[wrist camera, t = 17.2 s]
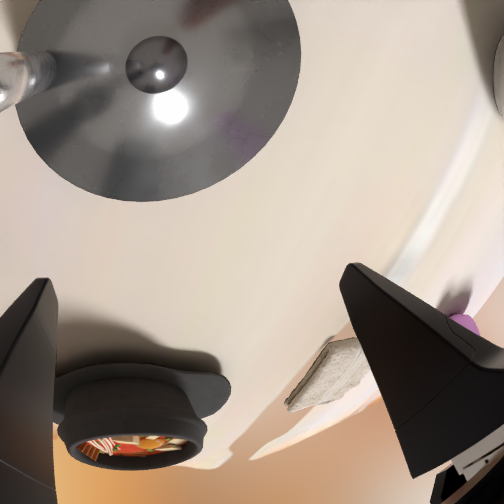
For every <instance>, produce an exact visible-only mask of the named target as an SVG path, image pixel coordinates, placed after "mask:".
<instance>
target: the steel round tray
mask: <svg viewBox="0 0 504 504" xmlns="http://www.w3.org/2000/svg"><path fill="white" fill-rule="evenodd" d="M153 36H166V37H170V38H172V39H174V40H176V41H177V42H179V43H180V44H181V45H182V46H183V48H184V50H185V51H186V54H187V59H188V65H187V70H186V73H185V75H184V77H183V78H182V80H181V81H180V82H179V83H178V84H177V85H176V86H175V87H173V88H172V89H170V90H168V91H166V92H163V93H158V94H149V93H144V92H142V91H139V90H138V89H136V88H135V87H134V86H133V85H132V84H131V83H130V82H129V80H128V78H127V75H126V70H125V65H126V60H127V57H128V55H129V53H130V51H131V50H132V49H133V47H134V46H136V45H137V44H138V43H139V42H141V41H142V40H144V39H146V38H149V37H153ZM300 63H301V46H300V36H299V31H298V26H297V22H296V19H295V16H294V13H293V11H292V8H291V6H290V4H289V2H288V0H41V1H40V2H39V4H38V5H37V7H36V8H35V10H34V11H33V13H32V14H31V16H30V18H29V20H28V22H27V24H26V27H25V29H24V31H23V33H22V36H21V39H20V42H19V46H18V49H17V52H5V53H0V112H1V111H3V110H5V109H7V108H9V107H11V106H13V105H15V106H16V110H17V113H18V117H19V120H20V124H21V126H22V128H23V130H24V132H25V134H26V137H27V139H28V140H29V142H30V143H31V145H32V147H33V148H34V150H35V151H36V153H37V154H38V155H39V156H40V157H41V158H42V160H43V161H44V162H45V163H46V164H47V165H48V166H49V167H50V168H51V169H52V170H54V171H55V172H56V173H57V174H58V175H60V176H61V177H62V178H64V179H65V180H67V181H69V182H70V183H72V184H73V185H75V186H77V187H79V188H81V189H84V190H86V191H88V192H90V193H93V194H96V195H100V196H103V197H106V198H111V199H117V200H122V201H136V202H147V201H161V200H167V199H173V198H178V197H181V196H185V195H188V194H192V193H195V192H197V191H200V190H202V189H205V188H207V187H210V186H212V185H214V184H215V183H217V182H219V181H221V180H223V179H225V178H226V177H228V176H229V175H231V174H233V173H234V172H236V171H237V170H239V169H240V168H241V167H242V166H244V165H245V164H246V163H247V162H248V161H250V160H251V159H252V158H253V157H254V156H255V155H256V154H257V153H258V152H259V151H260V150H261V149H262V148H263V147H264V146H265V145H266V143H267V142H268V141H269V140H270V138H271V137H272V136H273V135H274V133H275V132H276V130H277V129H278V127H279V126H280V124H281V122H282V121H283V119H284V117H285V115H286V113H287V111H288V109H289V107H290V105H291V103H292V100H293V97H294V94H295V91H296V87H297V83H298V78H299V73H300Z"/></svg>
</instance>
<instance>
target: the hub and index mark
mask: <svg viewBox="0 0 504 504" xmlns="http://www.w3.org/2000/svg"><path fill="white" fill-rule="evenodd" d="M187 65H188V59H187V54H186V51H185V50H184V48H183V46H182V45H181V44H180V43H179V42H177V41H176V40H174V39H172V38H170V37H166V36H153V37H149V38H146V39H144V40H142V41H141V42H139V43H138V44H137V45H136V46H134V47H133V49H132V50H131V51H130V53H129V55H128V57H127V60H126V65H125V70H126V75H127V78H128V80H129V82H130V83H131V84H132V85H133V86H134V87H135V88H136V89H138V90H139V91H142V92H144V93H149V94H158V93H163V92H166V91H168V90H170V89H172V88H173V87H175V86H176V85H177V84H178V83H179V82H180V81H181V80H182V78H183V77H184V75H185V73H186V70H187Z"/></svg>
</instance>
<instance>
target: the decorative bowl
mask: <svg viewBox="0 0 504 504" xmlns="http://www.w3.org/2000/svg"><path fill="white" fill-rule="evenodd" d="M493 83H494V94H495V100H496V104H497V108H498V110H499V113H500V114H501V116H502V117H503V118H504V35H503V36H502V38H501V40H500V42H499V44H498V47H497V51H496V55H495V61H494V73H493Z"/></svg>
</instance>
